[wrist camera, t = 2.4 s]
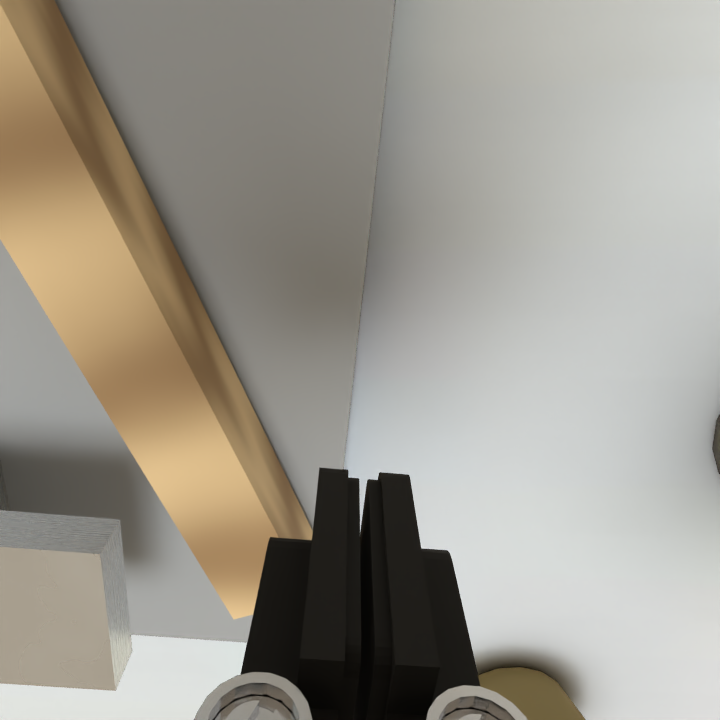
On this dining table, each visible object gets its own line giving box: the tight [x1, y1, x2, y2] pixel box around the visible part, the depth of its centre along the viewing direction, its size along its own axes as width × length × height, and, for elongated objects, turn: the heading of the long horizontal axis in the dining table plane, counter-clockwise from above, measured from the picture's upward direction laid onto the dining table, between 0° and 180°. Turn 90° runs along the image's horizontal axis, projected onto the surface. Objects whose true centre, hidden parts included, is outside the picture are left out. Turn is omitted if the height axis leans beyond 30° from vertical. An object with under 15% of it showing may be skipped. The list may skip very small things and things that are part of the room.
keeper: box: [0, 459, 132, 691], centre depth 20 cm, size 6×8×5 cm
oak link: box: [0, 0, 313, 619], centre depth 15 cm, size 23×4×7 cm, turn 19°
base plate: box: [0, 0, 395, 642], centre depth 20 cm, size 30×19×2 cm, turn 174°
